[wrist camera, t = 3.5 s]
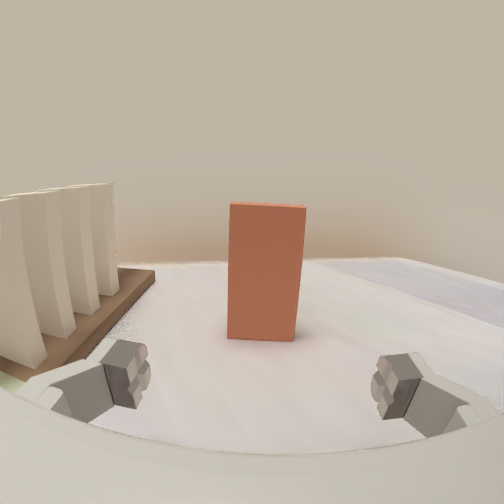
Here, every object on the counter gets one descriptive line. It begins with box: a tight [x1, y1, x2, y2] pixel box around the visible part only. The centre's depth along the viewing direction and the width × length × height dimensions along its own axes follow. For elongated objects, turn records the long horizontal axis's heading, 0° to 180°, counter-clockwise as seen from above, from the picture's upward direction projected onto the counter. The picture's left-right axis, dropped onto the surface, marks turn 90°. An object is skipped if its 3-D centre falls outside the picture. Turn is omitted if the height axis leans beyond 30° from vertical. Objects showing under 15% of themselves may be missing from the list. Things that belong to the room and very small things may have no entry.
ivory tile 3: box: [0, 191, 77, 339], centre depth 17 cm, size 2×5×10 cm, turn 88°
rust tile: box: [227, 202, 306, 341], centre depth 21 cm, size 2×5×10 cm, turn 88°
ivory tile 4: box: [33, 186, 100, 315], centre depth 20 cm, size 2×5×10 cm, turn 88°
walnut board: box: [0, 268, 155, 394], centre depth 20 cm, size 8×26×1 cm, turn 178°
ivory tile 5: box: [61, 183, 119, 296], centre depth 24 cm, size 2×5×10 cm, turn 88°
